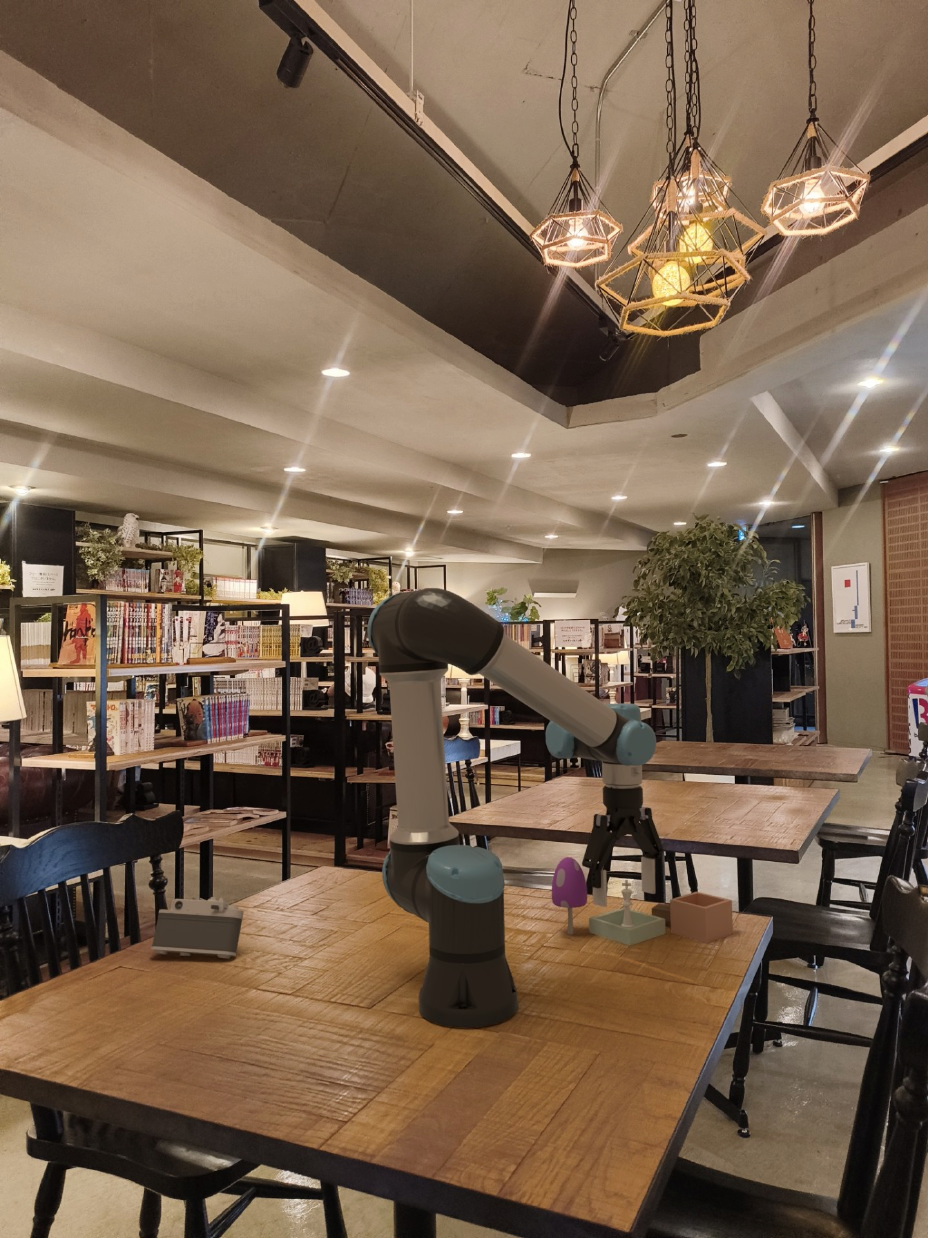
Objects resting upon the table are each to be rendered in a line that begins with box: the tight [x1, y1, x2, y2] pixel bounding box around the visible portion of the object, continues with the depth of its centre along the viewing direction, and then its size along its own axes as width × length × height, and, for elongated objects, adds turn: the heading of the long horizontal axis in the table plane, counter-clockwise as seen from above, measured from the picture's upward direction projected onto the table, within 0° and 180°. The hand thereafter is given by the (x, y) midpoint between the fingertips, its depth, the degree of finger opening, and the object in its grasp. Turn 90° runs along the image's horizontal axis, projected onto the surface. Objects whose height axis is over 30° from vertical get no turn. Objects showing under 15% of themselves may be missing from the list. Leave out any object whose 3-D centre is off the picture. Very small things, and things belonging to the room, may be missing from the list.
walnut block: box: [651, 902, 671, 928], centre depth 170 cm, size 4×4×4 cm
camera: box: [150, 896, 245, 960], centre depth 162 cm, size 9×16×10 cm, turn 83°
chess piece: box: [620, 879, 635, 928], centre depth 165 cm, size 5×5×10 cm
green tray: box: [588, 907, 667, 946], centre depth 165 cm, size 10×10×4 cm
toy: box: [551, 856, 588, 939], centre depth 165 cm, size 7×7×15 cm
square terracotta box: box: [669, 891, 734, 945], centre depth 163 cm, size 8×8×7 cm
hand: (624, 899), depth 165 cm, fingers open, 13 cm apart
